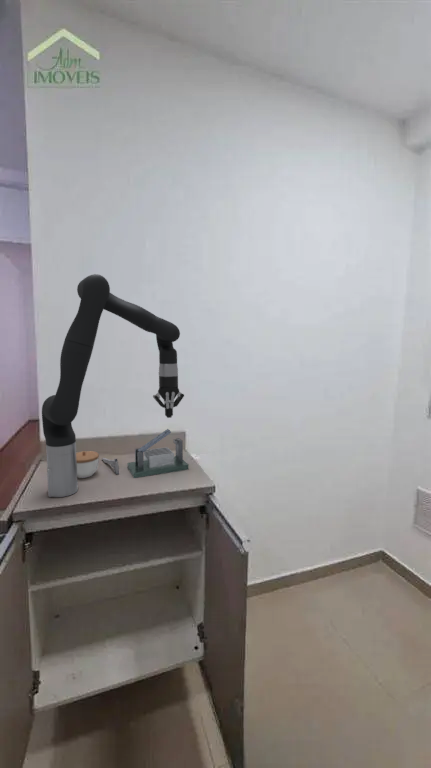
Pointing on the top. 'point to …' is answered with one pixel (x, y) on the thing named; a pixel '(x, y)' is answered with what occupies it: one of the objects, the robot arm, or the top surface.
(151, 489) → the top surface
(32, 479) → the top surface
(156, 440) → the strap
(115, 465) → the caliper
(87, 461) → the lidded jar
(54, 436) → the robot arm
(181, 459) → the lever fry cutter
